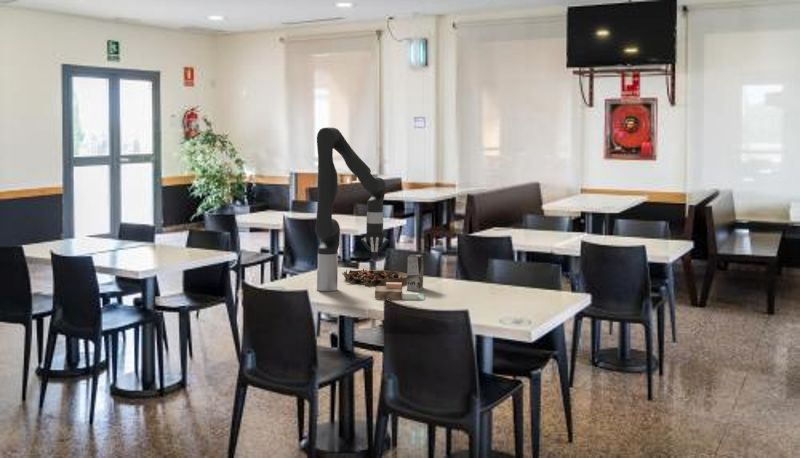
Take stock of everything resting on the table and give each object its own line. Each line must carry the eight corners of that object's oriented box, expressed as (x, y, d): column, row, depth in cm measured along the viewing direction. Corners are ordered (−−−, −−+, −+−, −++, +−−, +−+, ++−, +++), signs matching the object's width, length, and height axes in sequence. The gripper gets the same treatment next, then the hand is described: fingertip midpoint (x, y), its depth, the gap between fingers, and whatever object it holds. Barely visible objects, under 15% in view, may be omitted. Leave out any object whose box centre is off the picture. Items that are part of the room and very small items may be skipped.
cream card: (402, 298, 370) (402, 294, 370) (402, 296, 374) (402, 292, 374) (417, 298, 370) (418, 294, 369) (418, 297, 374) (418, 292, 373)
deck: (374, 298, 370) (375, 291, 369) (376, 293, 382) (376, 285, 382) (401, 299, 370) (402, 291, 369) (402, 293, 382) (402, 286, 382)
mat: (402, 299, 369) (402, 298, 369) (402, 293, 383) (402, 292, 383) (424, 300, 369) (424, 299, 369) (423, 294, 383) (423, 293, 383)
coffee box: (420, 291, 390) (420, 257, 388) (406, 290, 391) (407, 256, 389) (423, 287, 398) (424, 254, 397) (410, 286, 400) (410, 253, 398)
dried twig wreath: (328, 283, 413) (328, 267, 412) (373, 276, 438) (373, 261, 437) (380, 290, 390) (380, 274, 389) (425, 282, 415) (425, 267, 414)
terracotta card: (386, 288, 377) (386, 283, 376) (386, 286, 381) (386, 282, 380) (401, 288, 377) (401, 284, 376) (401, 286, 381) (401, 282, 380)
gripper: (359, 222, 372) (359, 260, 374) (389, 223, 371) (388, 261, 373) (360, 220, 379) (360, 258, 381) (389, 221, 379) (389, 258, 381)
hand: (374, 259), depth 377 cm, fingers closed
